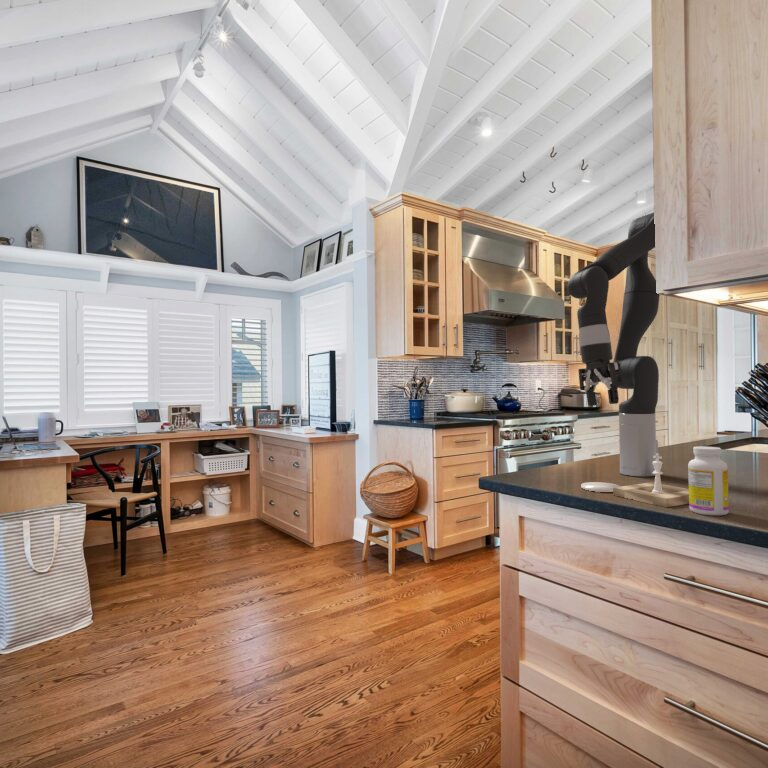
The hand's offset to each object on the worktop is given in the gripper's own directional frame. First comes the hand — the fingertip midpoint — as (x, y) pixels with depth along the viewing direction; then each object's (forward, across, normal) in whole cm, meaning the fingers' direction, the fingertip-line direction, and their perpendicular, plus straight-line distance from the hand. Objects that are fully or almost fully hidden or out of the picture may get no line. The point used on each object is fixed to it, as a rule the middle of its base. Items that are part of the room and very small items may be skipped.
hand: (603, 404), depth 133 cm
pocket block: (+22, -18, +2) cm, 28 cm away
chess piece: (+22, -18, +2) cm, 28 cm away
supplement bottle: (+23, -31, +3) cm, 39 cm away
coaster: (+20, -6, +8) cm, 22 cm away
